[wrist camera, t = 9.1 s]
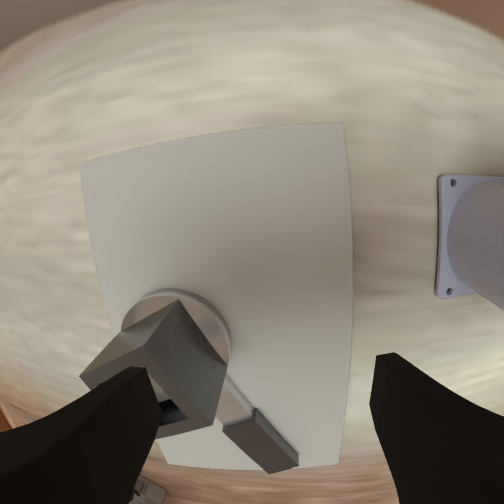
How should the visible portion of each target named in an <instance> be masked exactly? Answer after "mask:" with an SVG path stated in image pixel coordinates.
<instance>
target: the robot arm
mask: <svg viewBox="0 0 504 504" xmlns="http://www.w3.org/2000/svg"><path fill="white" fill-rule="evenodd" d="M451 179H452V180H453V185H452V186H451V184H450V181H451ZM438 187H439V251H438V268H437V280H436V290H435V294H436V296H437V297H438V298H440V299H446V298H451V297H456V296H461V295H466V294H471V293H476V292H477V293H479V294H480V295H482V296H483V297H485V298H486V299H487V300H489V301H490V302H492V303H493V304H495V305H496V306H498V307H499V308H500V309H502V310H503V311H504V177H497V176H478V175H441V176H440V177H439V180H438ZM448 288H450V289H449V291H448V292H447V289H448ZM446 292H447V293H446ZM369 404H370V409H371V413H372V418H373V422H374V426H375V430H376V433H377V436H378V438H379V441H380V444H381V446H382V449H383V452H384V454H385V457H386V460H387V463H388V465H389V468H390V471H391V474H392V477H393V479H394V482H395V486H396V489H397V493H398V498H399V503H400V504H504V416H501V415H498V414H496V413H493V412H491V411H489V410H487V409H484V408H482V407H480V406H478V405H476V404H474V403H472V402H470V401H468V400H466V399H465V398H463V397H461V396H459V395H458V394H456V393H454V392H453V391H451V390H449V389H448V388H446V387H445V386H443V385H441V384H440V383H438V382H437V381H435V380H434V379H432V378H431V377H430V376H428V375H427V374H425V373H424V372H422V371H421V370H419V369H418V368H417V367H415V366H414V365H412V364H411V363H410V362H408V361H407V360H405V359H404V358H402V357H401V356H400V355H398V354H396V353H395V352H393V353H388V354H382V355H376V362H375V370H374V377H373V384H372V390H371V397H370V403H369ZM161 415H162V410H161V408H160V405H159V402H158V400H157V397H156V395H155V392H154V389H153V386H152V384H151V381H150V378H149V375H148V372H147V369H146V367H133V366H130V367H128V368H126V369H124V370H122V371H121V372H119V373H118V374H116V375H114V376H113V377H111V378H110V379H108V380H107V381H105V382H104V383H102V384H101V385H99V386H97V387H96V388H94V389H93V390H91V391H90V392H88V393H87V394H85V395H83V396H82V397H80V398H79V399H77V400H75V401H73V402H72V403H70V404H68V405H66V406H65V407H63V408H61V409H59V410H58V411H56V412H54V413H52V414H50V415H48V416H46V417H44V418H41V419H39V420H37V421H34V422H32V423H29V424H27V425H24V426H21V427H17V428H14V429H11V430H8V431H5V432H0V504H129V501H130V497H131V494H132V491H133V489H134V486H135V483H136V481H137V479H138V477H139V474H140V472H141V470H142V467H143V465H144V463H145V461H146V458H147V456H148V454H149V451H150V449H151V447H152V444H153V442H154V440H155V437H156V434H157V430H158V427H159V423H160V419H161Z"/></svg>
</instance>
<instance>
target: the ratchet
mask: <svg viewBox="0 0 504 504" xmlns="http://www.w3.org/2000/svg"><path fill="white" fill-rule="evenodd" d="M178 299H179V300H180V301H181V303H182V304H183V306H184V307H185V309H186V310H187V312H188V313H189V314H190V316H191V317H192V319H193V320H194V321H195V323H196V324H197V326H198V327H199V328H200V330H201V331H202V332H203V334H204V335H205V337H206V338H207V339H208V341H209V342H210V343H211V345H212V346H213V347H214V349H215V350H216V351H217V353H218V354H219V355H220V357H221V358H222V359H223V360H224V362H225V363H226V364H227V366H228V362H229V358H230V354H231V349H232V338H231V333H230V330H229V327H228V325H227V322H226V321H225V319H224V317H223V316H222V315H221V313H220V312H219V311H218V310H217V309H216V308H215V307H214V306H213V305H212V304H211V303H210V302H208V301H207V300H206V299H204V298H202V297H201V296H199V295H197V294H195V293H192V292H190V291H187V290H182V289H176V288H164V289H158V290H155V291H152V292H150V293H148V294H146V295H145V296H144V297H142V298H141V299H140V300H139V301H138V302H137V303H136V304H135V305H134V306H133V307H132V308H131V309H130V310H129V311H128V312H127V314H126V315H125V317H124V319H123V322H122V325H121V331H122V330H124V329H126V328H128V327H129V326H131V325H133V324H135V323H136V322H138V321H140V320H142V319H144V318H145V317H147V316H149V315H151V314H153V313H154V312H156V311H158V310H160V309H161V308H163V307H165V306H167V305H169V304H170V303H172V302H174V301H176V300H178ZM141 367H143V366H141ZM148 375H149V373H148ZM149 378H150V381H151V384H152V386H153V389H154V392H155V395H156V397H157V400H158V402H162V401H165V400H168V399H170V398H169V397H168V395H167V394H166V393H165V392H164V391H163V390H162V389H161V388H160V386H159V385H158V384H157V383H156V382H155V381H154V379H153V378H152V377H151V376H150V375H149ZM215 417H216V418H217V419H218V420H219V421H220V422H221V423H222V424H223V428H222V432H223V433H224V434H225V435H226V436H227V437H228V438H229V439H230V440H232V441H233V442H234V443H235V444H236V445H237V446H238V447H239V448H240V449H241V450H242V451H243V452H244V453H245V454H246V455H248V456H249V457H250V458H251V459H252V460H253V461H254V462H255V463H257V464H258V465H259V466H260V467H261V468H262V469H263V470H265V471H266V472H267V473H268V474H272V473H276V472H280V471H283V470H287V469H291V468H294V467H297V466H299V454H298V453H297V452H296V451H295V450H294V449H293V448H292V447H291V445H290V444H289V443H288V442H287V441H286V440H285V439H284V438H283V437H282V436H281V435H280V434H279V432H278V431H277V430H276V429H275V428H274V427H273V426H272V425H271V424H270V422H269V421H268V420H267V419H266V418H265V417H264V416H263V414H262V413H261V412H260V411H259V410H258V409H257V408H253V407H252V405H251V404H250V403H249V402H248V401H247V399H246V398H245V397H244V396H243V395H242V394H241V392H240V391H239V390H238V389H237V388H236V386H235V385H234V384H233V383H232V381H231V380H230V379H229V378H228V376H227V375H225V379H224V383H223V387H222V391H221V395H220V399H219V403H218V407H217V411H216V415H215Z"/></svg>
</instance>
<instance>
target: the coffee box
mask: <svg viewBox="0 0 504 504" xmlns="http://www.w3.org/2000/svg"><path fill="white" fill-rule="evenodd" d="M165 494H166V490H165V489H163V488H161V487H159V486H158V485H156V484H154V483H152V482H151V481H149V480H147V479H145V478H144V477H142V476H140V475H139V477H138V479H137V481H136V483H135V486H134V489H133V491H132V494H131V497H130V501H129V504H162V503H163V500H164V497H165Z"/></svg>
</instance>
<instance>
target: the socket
mask: <svg viewBox="0 0 504 504" xmlns="http://www.w3.org/2000/svg"><path fill="white" fill-rule="evenodd" d="M130 366H133V367H141V366H143V367H146V369H147V372H148V373H149V375H150V376H151V377H152V378H153V379H154V381H155V382H156V383H157V384H158V385H159V386H160V388H161V389H162V390H163V391H164V392H165V393H166V394H167V395H168V397H169V398H170V399H168V400H165V401H162V402H159V405H160V408H161V410H162V415H161V419H160V423H159V427H158V430H157V434H156V437H155V439H160V438H165V437H169V436H174V435H178V434H182V433H186V432H190V431H194V430H197V429H201V428H205V427H208V426H212V425H213V423H214V419H215V415H216V411H217V407H218V403H219V399H220V395H221V391H222V387H223V383H224V379H225V375H226V371H227V367H228V366H227V364H226V363H225V362H224V360H223V359H222V358H221V357H220V355H219V354H218V353H217V351H216V350H215V349H214V347H213V346H212V345H211V343H210V342H209V341H208V339H207V338H206V337H205V335H204V334H203V332H202V331H201V330H200V328H199V327H198V326H197V324H196V323H195V321H194V320H193V319H192V317H191V316H190V314H189V313H188V312H187V310H186V309H185V307H184V306H183V304H182V303H181V301H180V300H179V299H178V300H176V301H174V302H172V303H170V304H169V305H167V306H165V307H163V308H161V309H160V310H158V311H156V312H154V313H153V314H151V315H149V316H147V317H145V318H144V319H142V320H140V321H138V322H136V323H135V324H133V325H131V326H129V327H128V328H126V329H124V330H122V331H120V332H119V333H118V334H117V335H116V336H115V337H114V338H113V340H112V341H111V342H110V343H109V344H108V345H107V346H106V347H105V348H104V349H103V350H102V351H101V352H100V354H99V355H98V356H97V357H96V358H95V359H94V360H93V361H92V362H91V363H90V365H89V366H88V367H87V368H86V369H85V370H84V371H83V372H82V373H81V374H80V376H79V377H80V378H81V379H82V380H83V381H84V383H85V384H86V385H87V386H88V387H89V389H90V390H93V389H94V388H96V387H97V386H99V385H101V384H102V383H104V382H105V381H107V380H108V379H110V378H111V377H113V376H114V375H116V374H118V373H119V372H121V371H122V370H124V369H126V368H128V367H130Z"/></svg>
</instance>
